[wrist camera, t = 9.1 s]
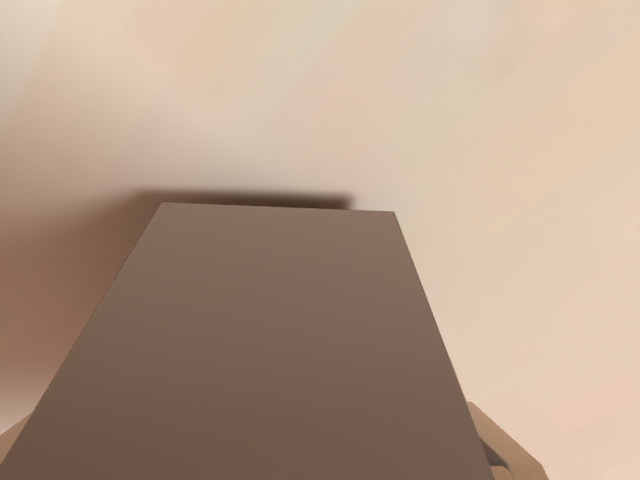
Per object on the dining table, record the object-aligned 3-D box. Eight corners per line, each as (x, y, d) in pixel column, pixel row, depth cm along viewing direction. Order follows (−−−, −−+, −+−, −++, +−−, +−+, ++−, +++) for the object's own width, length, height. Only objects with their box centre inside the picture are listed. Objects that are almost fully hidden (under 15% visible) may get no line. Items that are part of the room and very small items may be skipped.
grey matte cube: (161, 202, 12) (-41, 530, 5) (394, 211, 13) (512, 525, 6) (188, 359, 16) (96, 669, 9) (365, 362, 17) (411, 659, 10)
